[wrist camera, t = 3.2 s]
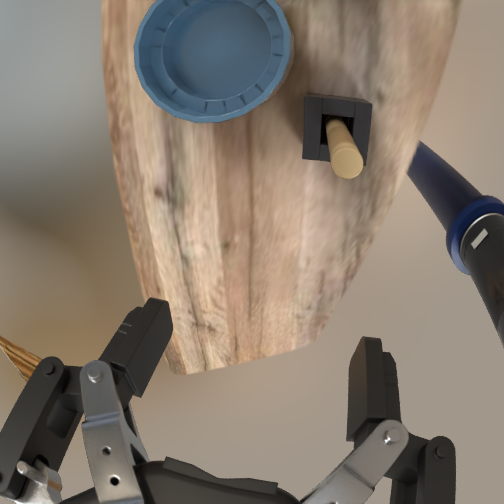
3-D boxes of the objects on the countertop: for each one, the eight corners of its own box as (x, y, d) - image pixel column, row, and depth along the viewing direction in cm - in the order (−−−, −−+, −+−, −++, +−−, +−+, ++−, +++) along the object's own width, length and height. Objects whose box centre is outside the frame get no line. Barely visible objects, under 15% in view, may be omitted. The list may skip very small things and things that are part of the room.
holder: (365, 99, 27) (372, 103, 23) (359, 154, 31) (365, 166, 27) (306, 93, 28) (305, 96, 24) (304, 147, 32) (302, 159, 28)
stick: (344, 115, 29) (365, 150, 16) (342, 133, 30) (361, 181, 18) (325, 113, 29) (332, 146, 17) (324, 131, 30) (329, 177, 18)
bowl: (294, -15, 21) (289, -30, 17) (293, 116, 30) (288, 124, 25) (158, -1, 24) (133, -8, 19) (162, 116, 32) (139, 126, 28)
